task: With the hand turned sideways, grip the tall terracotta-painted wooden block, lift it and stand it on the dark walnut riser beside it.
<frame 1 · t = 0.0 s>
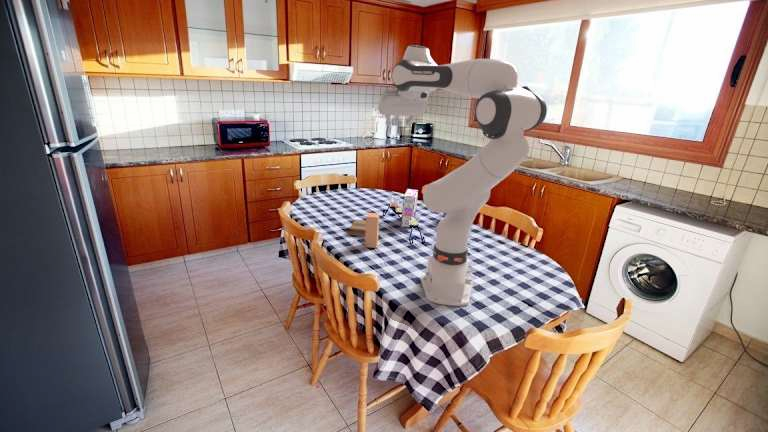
hand: (398, 124, 149), 52 cm above the table, tool tilted 20°, fingers open, 8 cm apart
candy box: (408, 223, 194), on the table
decorative ball: (455, 222, 199), on the table
walnut riser: (364, 231, 180), on the table
terracotta block: (371, 245, 165), on the table
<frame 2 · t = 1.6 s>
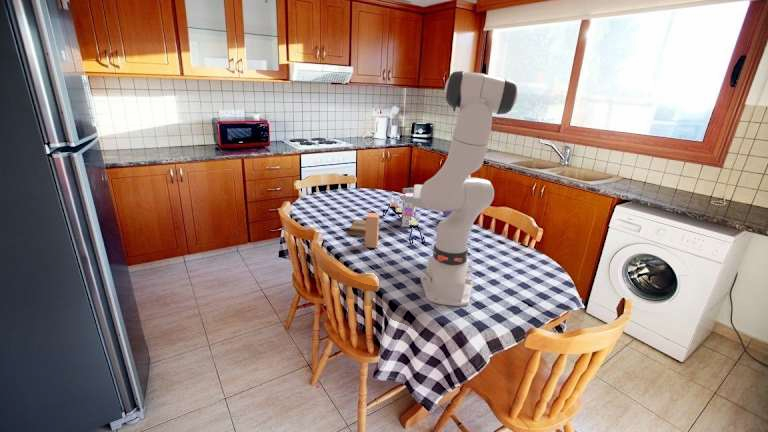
hand: (401, 193, 156), 24 cm above the table, tool horizontal, fingers open, 8 cm apart
nothing on the table moved.
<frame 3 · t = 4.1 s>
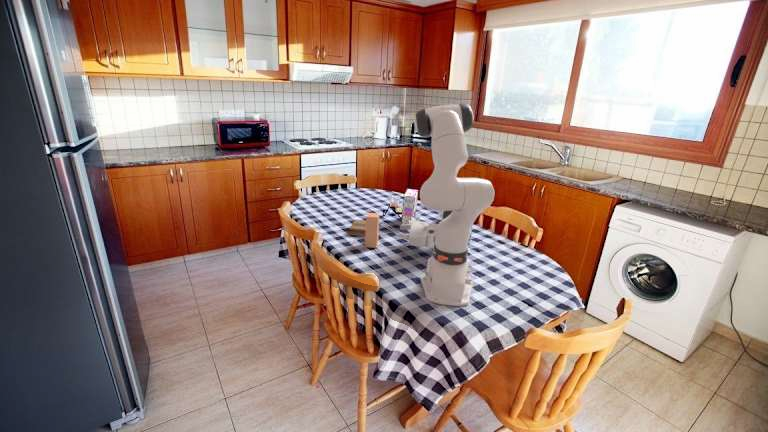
hand: (399, 230, 161), 8 cm above the table, tool horizontal, fingers open, 8 cm apart
nothing on the table moved.
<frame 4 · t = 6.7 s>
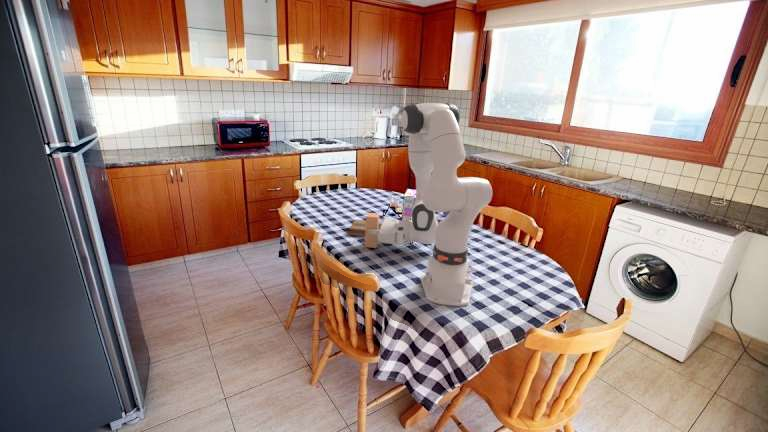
hand: (370, 227, 163), 8 cm above the table, tool horizontal, fingers closed on terracotta block, 5 cm apart
terracotta block: (371, 245, 165), on the table, touching gripper
everything else where it was.
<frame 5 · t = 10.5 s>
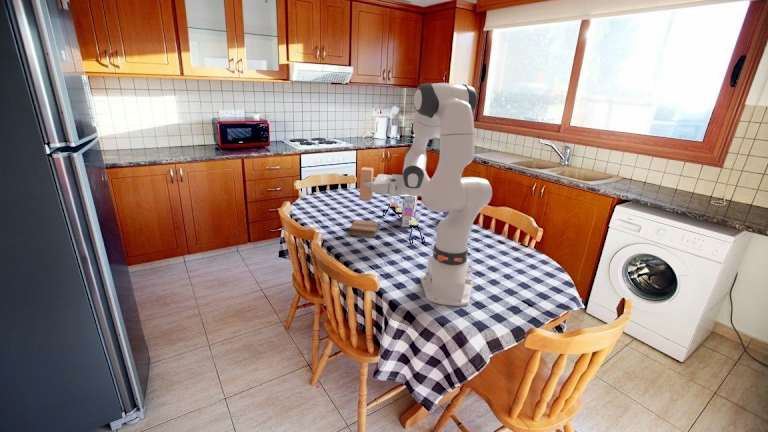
hand: (364, 181, 171), 25 cm above the table, tool horizontal, fingers closed on terracotta block, 5 cm apart
terracotta block: (365, 198, 173), point 17 cm above the table, touching gripper
everything else where it was.
when the fingers open (12 cm above the table, at t = 13.9 s): terracotta block drops 1 cm, resting on walnut riser.
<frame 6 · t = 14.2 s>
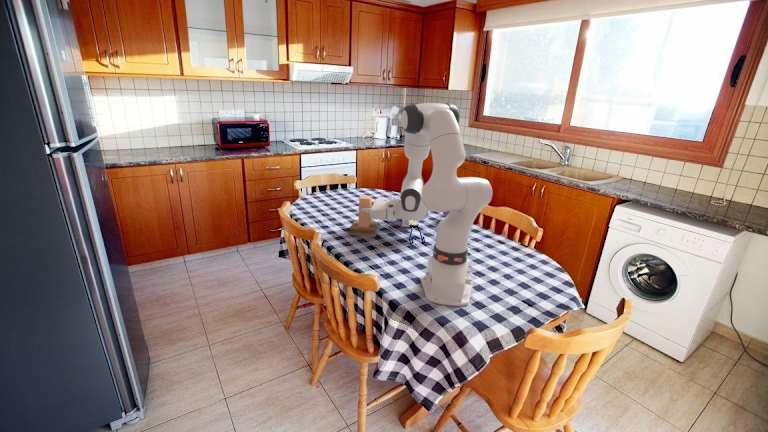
hand: (363, 206, 176), 12 cm above the table, tool horizontal, fingers open, 7 cm apart
terracotta block: (364, 225, 179), point 3 cm above the table, touching walnut riser
everything else where it was.
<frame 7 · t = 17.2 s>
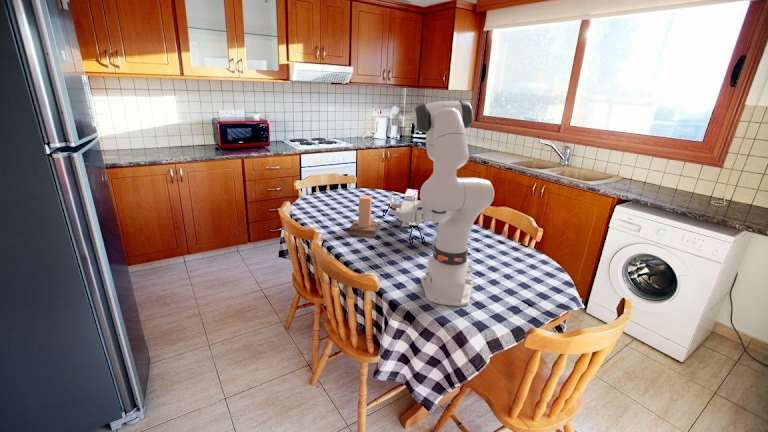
hand: (390, 208, 174), 12 cm above the table, tool horizontal, fingers open, 8 cm apart
nothing on the table moved.
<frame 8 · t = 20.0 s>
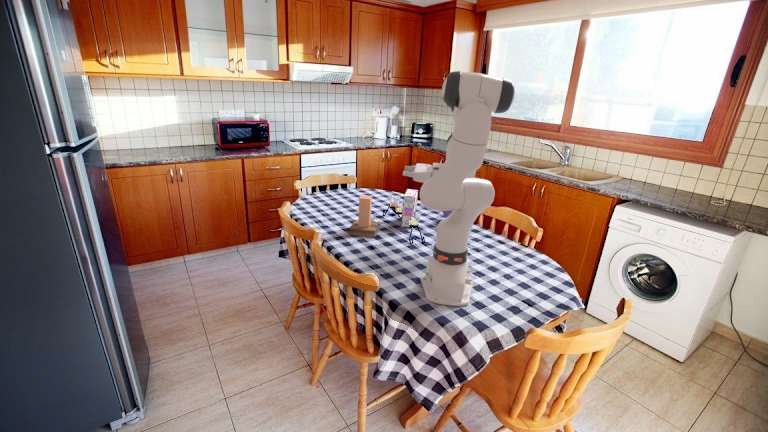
hand: (403, 170, 163), 32 cm above the table, tool horizontal, fingers open, 8 cm apart
nothing on the table moved.
at the end: terracotta block inside the target area on the walnut riser (0.0 cm from its centre), point 3.0 cm above the walnut riser's base; terracotta block tilted 0°; the gripper is holding nothing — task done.
